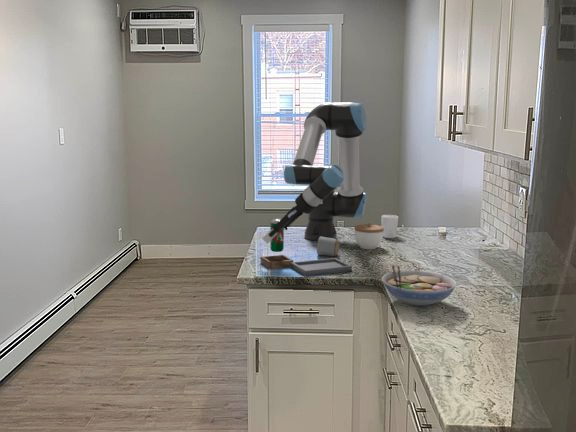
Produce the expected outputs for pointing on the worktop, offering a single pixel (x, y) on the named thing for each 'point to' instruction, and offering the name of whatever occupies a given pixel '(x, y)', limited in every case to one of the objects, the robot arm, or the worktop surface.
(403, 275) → the ramen bowl
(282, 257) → the walnut collar
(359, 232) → the lidded bowl
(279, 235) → the soda can
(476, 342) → the worktop surface
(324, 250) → the ceramic mug
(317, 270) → the grey tray
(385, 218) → the white cup
